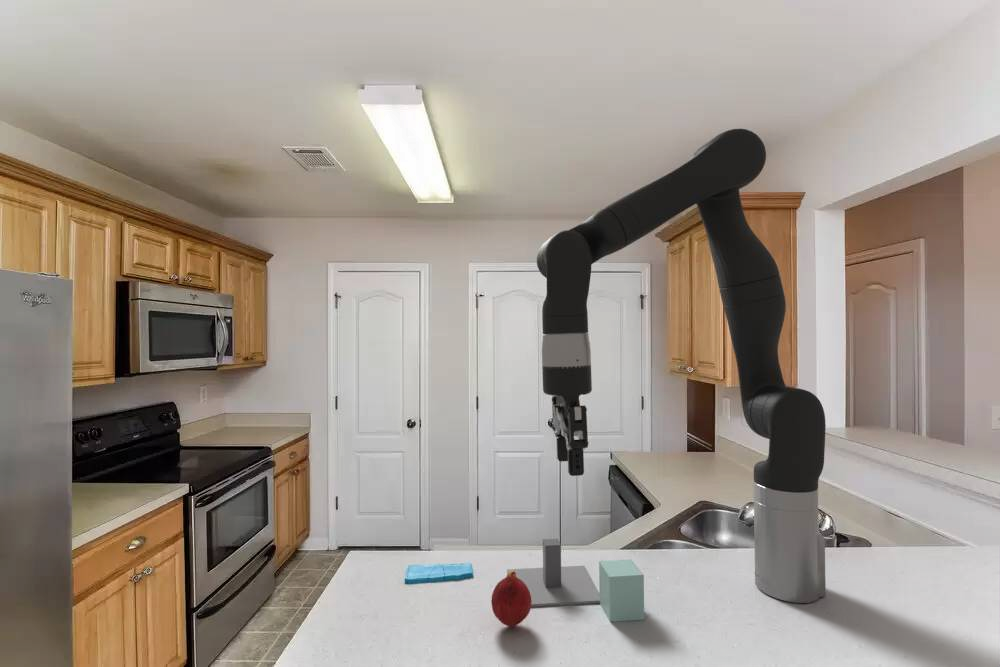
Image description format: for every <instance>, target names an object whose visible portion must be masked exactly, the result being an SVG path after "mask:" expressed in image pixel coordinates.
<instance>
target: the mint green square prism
mask: <svg viewBox="0 0 1000 667" xmlns="http://www.w3.org/2000/svg"><path fill="white" fill-rule="evenodd" d="M598 563H599V564H598V566H599V567H598V568H599V569H598V570H599V571H598V572H599V575H598V578H599V579H598V580H599V582H598V583H599V584H598V586H599V590H598V591H599V594H600V603H599V604H600V606H601V608H602V610H603V612H604V614H605V615H606V617H607V619H608V621H609V622H610V623H611V622H626V621H627V622H628V621H642V620H643V621H644V620H645V576H644V573H643V572H642V570H640V568H639V567H638V565H637V564H636V563H635V562H634V561H633V559H630V558H629V559H613V560H599V562H598Z"/></svg>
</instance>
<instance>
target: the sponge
mask: <svg viewBox="0 0 1000 667" xmlns="http://www.w3.org/2000/svg"><path fill="white" fill-rule="evenodd" d="M473 577H474V571H473V563H470V562H464V563H442V564H441V563H437V564H431V563H430V564H426V563H425V564H412V565H409V564H408V566H407V568H406V572H405V577H404V583H405V584H409V585H415V584H423V583H424V584H425V583H437V582H443V581H444V582H447V581H458V580H463V579H469V578H473Z"/></svg>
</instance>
